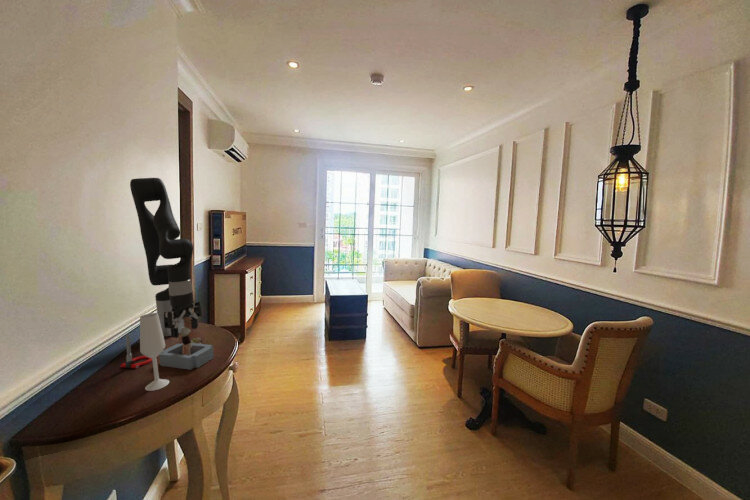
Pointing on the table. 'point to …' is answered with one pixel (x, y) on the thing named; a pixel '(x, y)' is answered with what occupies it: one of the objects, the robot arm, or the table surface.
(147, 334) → the champagne flute
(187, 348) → the grandmother figurine
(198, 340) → the mineral rock
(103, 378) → the table surface
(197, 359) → the well block
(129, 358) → the tow hook
